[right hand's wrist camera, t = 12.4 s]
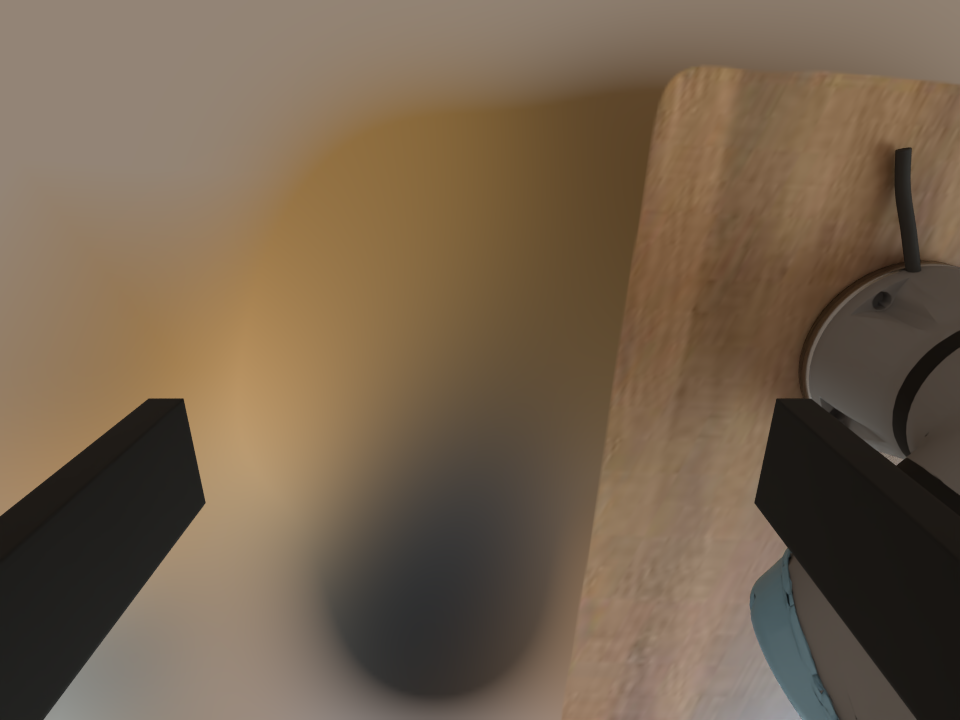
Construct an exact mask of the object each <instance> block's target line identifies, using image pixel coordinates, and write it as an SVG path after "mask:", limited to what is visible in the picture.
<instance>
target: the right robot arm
mask: <svg viewBox="0 0 960 720" xmlns="http://www.w3.org/2000/svg"><path fill="white" fill-rule="evenodd" d="M911 152H912V148H902V149H898V150H896V151H895V197H896V205H897V212H898V218H899V224H900V230H901V238H902V246H903V254H904V263H899V264H895V265H891V266H888V267H885V268H882V269H880V270H877V271H875V272H873V273H870V274H868V275H866V276H864V277H863V278H861V279H859V280H858V281H856V282H854V283H853V284H852V285H850V286H849V287H847V288H846V289H845V290H844V291H842V292H841V293H840V294H839V295H838V296H837V297H835V298H834V299H833V300H832V301H831V302H830V303H829V305H828V306H827V307H826V308H825V309H824V310H823V312H822V313H821V314H820V316H819V317H818V318H817V320H816V321H815V323H814V324H813V326H812V328H811V330H810V332H809V334H808V336H807V338H806V340H805V343H804V346H803V349H802V353H801V357H800V363H799V382H800V388H801V392H802V395H803V398H804V399H776V404H775V408H774V413H773V418H772V422H771V427H770V432H769V437H768V441H767V446H766V451H765V456H764V460H763V465H762V470H761V474H760V479H759V484H758V489H757V493H756V498H755V504H756V506H757V507H758V508H759V510H760V511H761V512H762V514H763V515H764V516H765V518H766V519H767V520H768V522H769V523H770V524H771V526H772V527H773V528H774V530H775V531H776V532H777V534H778V535H779V536H780V538H781V539H782V540H783V542H784V543H785V544H786V546H787V547H788V548H787V550H786V551H785V553H784V555H783V557H782V558H781V559H780V560H779V561H778V562H777V563H776V564H774V565H773V566H772V567H771V568H770V569H769V570H768V571H767V572H765V573H764V574H763V575H762V576H761V577H760V578H759V579H758V580H757V581H756V583H755V584H754V586H753V588H752V591H751V594H750V610H751V621H752V624H753V628H754V631H755V634H756V637H757V640H758V642H759V645H760V647H761V649H762V652H763V654H764V656H765V658H766V660H767V662H768V664H769V666H770V668H771V670H772V672H773V674H774V676H775V677H776V679H777V681H778V683H779V684H780V686H781V688H782V689H783V691H784V693H785V694H786V696H787V698H788V699H789V701H790V702H791V704H792V705H793V707H794V708H795V710H796V711H797V713H798V714H799V716H800V717H801V718H802V720H960V267H956V266H953V265H949V264H945V263H940V262H935V261H920V255H919V246H918V237H917V229H916V222H915V216H914V210H913V204H912V196H911V182H910V173H911ZM878 451H879V452H882V453H885V454H889V455H892V456H895V457H898V458H902V459H904V460H903V461H902V462H900V463H899V464H898V465H897V466H896V465H894V464H893V463H892V462H891V461H889V460H888V459H887V458H886V457H884V456H883V455H882V454H880V453H879V452H878ZM204 504H205V498H204V493H203V489H202V484H201V479H200V474H199V470H198V465H197V460H196V456H195V451H194V446H193V441H192V437H191V432H190V427H189V422H188V418H187V413H186V409H185V404H184V399H148V400H146V401H145V402H144V403H143V404H141V405H140V406H139V407H138V408H136V409H135V410H134V411H133V412H131V413H130V414H129V415H127V416H126V417H125V418H124V419H122V420H121V421H120V422H119V423H117V424H116V425H115V426H114V427H112V428H111V429H110V430H109V431H107V432H106V433H105V434H104V435H102V436H101V437H100V438H98V439H97V440H96V441H95V442H93V443H92V444H91V445H90V446H88V447H87V448H86V449H85V450H83V451H82V452H81V453H80V454H78V455H77V456H76V457H74V458H73V459H72V460H71V461H70V462H68V463H67V464H66V465H64V466H63V467H62V468H61V469H59V470H58V471H57V472H56V473H54V474H53V475H52V476H51V477H49V478H48V479H47V480H45V481H44V482H43V483H42V484H40V485H39V486H38V487H37V488H35V489H34V490H33V491H32V492H30V493H29V494H28V495H27V496H25V497H24V498H23V499H22V500H20V501H19V502H18V503H17V504H15V505H14V506H13V507H11V508H10V509H9V510H8V511H6V512H5V513H4V514H3V515H1V516H0V720H44V718H45V717H46V715H47V714H48V713H49V712H50V710H51V709H52V707H53V706H54V705H55V703H56V702H57V701H58V699H59V698H60V697H61V695H62V694H63V693H64V691H65V690H66V689H67V687H68V686H69V685H70V683H71V682H72V681H73V679H74V678H75V677H76V675H77V674H78V673H79V671H80V670H81V669H82V667H83V666H84V665H85V663H86V662H87V661H88V659H89V658H90V657H91V655H92V654H93V653H94V651H95V650H96V649H97V647H98V646H99V645H100V643H101V642H102V641H103V639H104V638H105V637H106V635H107V634H108V633H109V631H110V630H111V629H112V627H113V626H114V625H115V623H116V622H117V621H118V619H119V618H120V617H121V615H122V614H123V613H124V611H125V610H126V609H127V607H128V606H129V605H130V603H131V602H132V600H133V599H134V598H135V597H136V595H137V594H138V592H139V591H140V590H141V588H142V587H143V586H144V585H145V583H146V582H147V581H148V579H149V578H150V577H151V575H152V574H153V572H154V571H155V570H156V569H157V567H158V566H159V564H160V563H161V562H162V560H163V559H164V558H165V556H166V555H167V554H168V552H169V551H170V550H171V548H172V547H173V546H174V544H175V543H176V542H177V540H178V539H179V538H180V536H181V535H182V534H183V532H184V531H185V530H186V528H187V527H188V526H189V524H190V523H191V522H192V520H193V519H194V518H195V516H196V515H197V514H198V512H199V511H200V510H201V508H202V507H203V506H204Z"/></svg>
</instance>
